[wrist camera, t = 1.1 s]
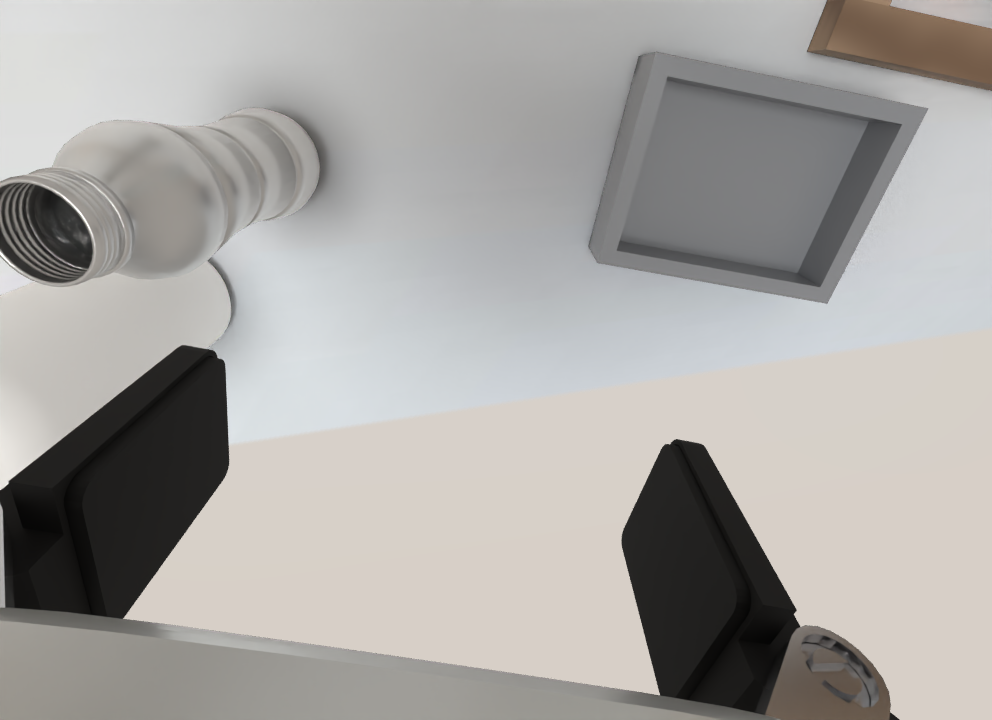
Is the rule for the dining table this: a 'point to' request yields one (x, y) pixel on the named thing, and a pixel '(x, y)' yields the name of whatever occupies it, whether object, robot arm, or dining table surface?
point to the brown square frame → (905, 41)
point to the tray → (746, 177)
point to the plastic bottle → (153, 196)
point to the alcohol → (92, 349)
